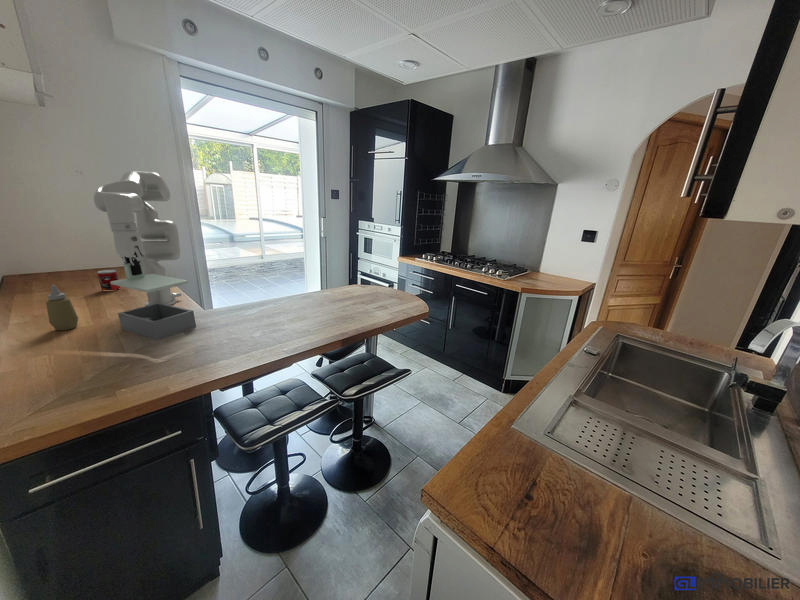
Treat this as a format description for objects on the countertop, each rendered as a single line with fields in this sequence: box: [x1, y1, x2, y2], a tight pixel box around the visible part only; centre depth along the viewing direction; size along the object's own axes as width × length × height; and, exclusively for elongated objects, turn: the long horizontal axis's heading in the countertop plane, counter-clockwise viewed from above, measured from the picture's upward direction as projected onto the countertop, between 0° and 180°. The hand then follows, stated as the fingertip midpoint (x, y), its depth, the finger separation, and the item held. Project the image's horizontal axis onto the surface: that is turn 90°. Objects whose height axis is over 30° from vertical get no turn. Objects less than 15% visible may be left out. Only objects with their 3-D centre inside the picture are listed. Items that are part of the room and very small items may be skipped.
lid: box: [111, 262, 190, 294], centre depth 120 cm, size 15×22×8 cm
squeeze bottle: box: [45, 284, 79, 332], centre depth 122 cm, size 8×8×18 cm
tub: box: [117, 303, 197, 341], centre depth 125 cm, size 15×22×8 cm
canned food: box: [96, 269, 121, 291], centre depth 175 cm, size 8×8×11 cm
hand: (134, 273), depth 123 cm, fingers closed on lid
